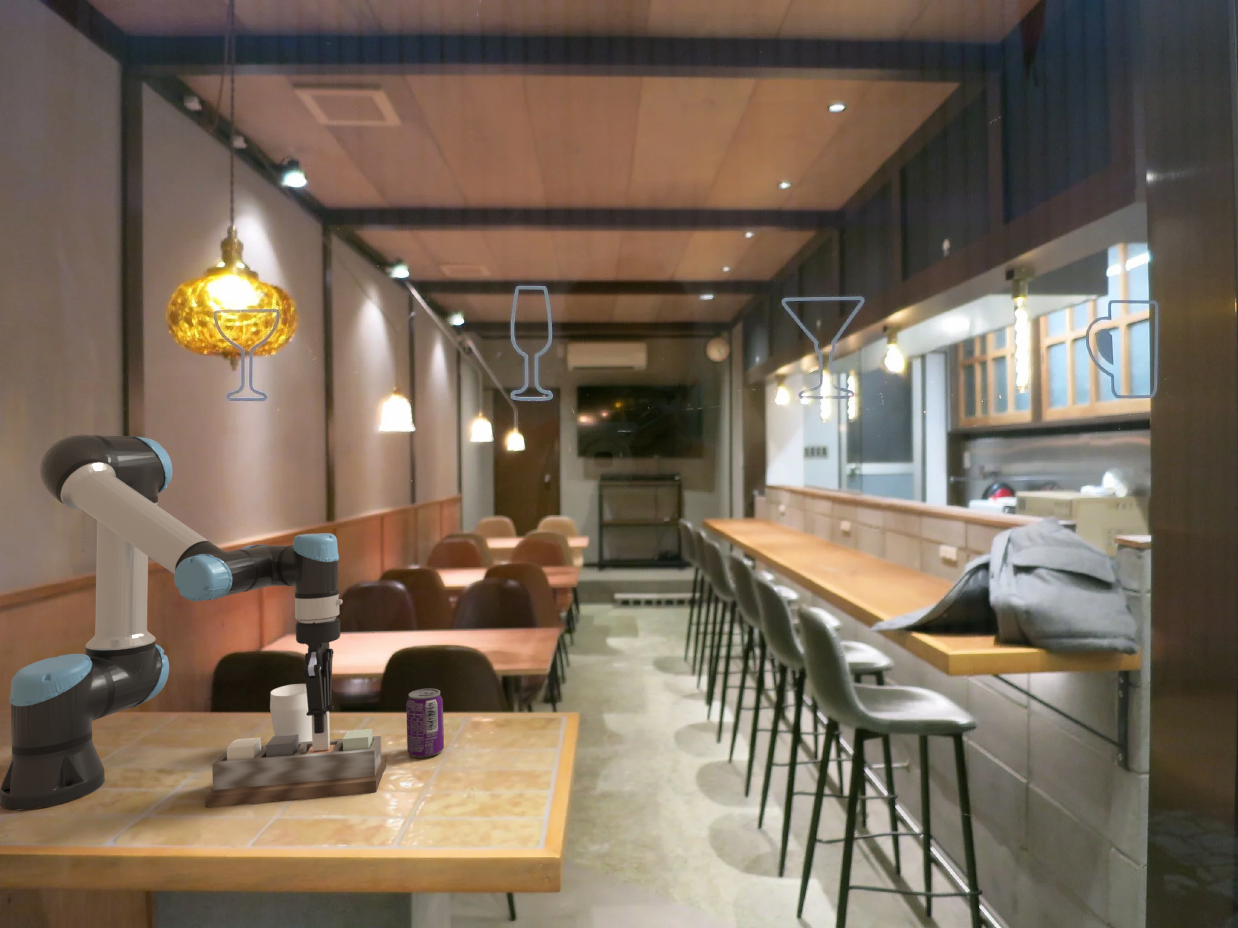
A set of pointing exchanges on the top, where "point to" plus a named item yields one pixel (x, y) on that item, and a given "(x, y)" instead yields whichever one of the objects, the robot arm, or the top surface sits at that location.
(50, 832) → the top surface
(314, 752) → the key terracotta
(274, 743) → the key charcoal
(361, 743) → the key sage
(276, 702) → the cup
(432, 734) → the beverage can
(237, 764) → the slotted block tray
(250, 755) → the key ivory
